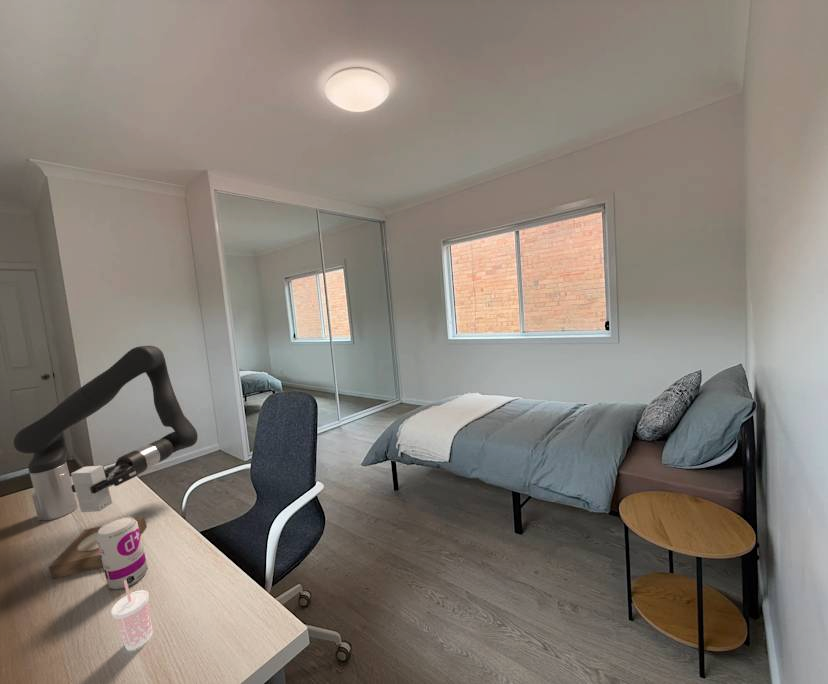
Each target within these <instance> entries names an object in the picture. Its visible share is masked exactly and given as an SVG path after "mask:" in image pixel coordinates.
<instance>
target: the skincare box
mask: <svg viewBox="0 0 828 684" xmlns="http://www.w3.org/2000/svg"><path fill="white" fill-rule="evenodd" d="M103 467H104V466H103V465H91V466H83V467H81V468H78V469H77V470H75V471H73V472H71V473H70V477H71V481H72V484H73V485H74V487H75V491H76V492H75V493H76V494H75V496H76V497H77V502H78V506H79V509H80V513H93V512H94V513H97V512H101V511H103V510H104V509H106V508H107V507H109V506H110V505H112V504H113V500H112V496H111V492H110V490H109V488H110V487H106V488H104V489H102V490H101V491H99V492H97V493H95V494H93V493H91V490H90V487H91V486H92V485H94V484H96V483H98V482H100V481H102V480H106V477H105V473H104V469H105V468H104V469H103Z"/></svg>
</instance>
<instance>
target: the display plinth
mask: <svg viewBox="0 0 828 684" xmlns="http://www.w3.org/2000/svg"><path fill="white" fill-rule="evenodd" d="M134 519H135V520H136V521H137V523H138V527H139V532H140V536H141V537H142V535H143V533H144V532H145V531H146V529H148V526H147V521H146V517H145V516H141V517H138V518H134ZM102 526H103V525H101V526H96V527H92V528H87V529H84V530H83V531H81V533H80V534H79V535H78V536H77V537H76V538H75V539H74V540H73V541H72V542H71V543H70V544H69V545H68V546H67V547H66V548H65V549H64V550H63V552H61V554H59V556H57V557H56V558H55V559H54V560H53V562H51V564H50V565H49V566H48V570H49V574H50V578H51V580H53V579H57V578H63V577H67V576H70V575H74V574H78V573H82V572H86V571H91V570H96V569H99V568H102V567H103V564H102V560H101V556H100V552H99V548H98V544H97V535H98V533H99V532H98V531H99V529H100V528H101V527H102ZM141 534H142V535H141Z"/></svg>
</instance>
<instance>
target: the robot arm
mask: <svg viewBox="0 0 828 684" xmlns="http://www.w3.org/2000/svg"><path fill="white" fill-rule="evenodd" d="M142 374H146V376H147V377H148V379H149V382H150V384H151V388H152V393H153V397H152V398H153V404H154V407H155V411H156V413H157V415H158V417H159V419H160V422H161V424H162V425H163V427H166V428H171V429H173V431H172V432H170V433H168V434H166V435H164V436H162V437H161V438H159V439H158V440H155V441H153V442H150V443H149V444H147V445H144V446H141V447H138V448H136V449H135V450H132V451H130V452H128V453H126V454H123V455H121V456H120V457H118V458H117V459H116V462H115V463H114V465H110V466H108V467H106V468H105V467H104V466H103V469H104V473H105V477H106V480H102V481H100V482H98V483H96V484H94V485H92V486H91V487H90V490H91V493H93V494H95V493H97V492H99V491H101V490H102V489H104V488H106V487H108V488H110V487H112V486H114V487H118V486H120V485H121V484H124V483H126V482H128V481H129V480H131V479H133V478H135V477H137V476H139V475H140V474H142V473H145V472H146V471H147V470H149V469H151V468H153V467H154V466H156V465H157V464H159V463H161V462H163V461H165V460H167V459H168V458H169V457H171V456H172V454H173V453H177V451H181V450H185V449H187V448H190V447H192V446H194V445H195V444H197V441H198V431H197V429H196V428H195V426H194V425H193V424H192V422H191V421H189V419H188V418H187V416H185V415H184V413H183V410H182V408H181V405H180V403H179V400H178V399H177V396H176V394H175V390H174V389H173V385H172V382H171V378H170V376H169V371H168V367H167V363H166V358H165V354H164V352H163V351H162V350H161V349H160V348H159V347H157V346H155V345H139V346H136V347H132V348H131V349H129V350H128V351H127V352H126V353H125V354H124V355H123V356H122V357H120V358H119V359H118V360H117V361H116V362H115V363H114V364H113V365H112V366H110V367H109V368H108V369H106V370H105V371H103V372H102V373H100V374H99V375H97V376H95V377H94V378H93V379H91V380H90V381H88V382H86V383H85V384H83V385H82V386H81V387H80V388H77V389H76V391H74V392H73V393H72V394H71V395H69V396H68V397H67V398H65V399H64V400H63V401H61V402H60V403H59V404H58V405H57V406H55V407H54V409H52V410H51V411H50V412H48V413H47V414H46V415H43V416H42V417H40V418H39V419H37V420H36V421H34V422H32V423H31V424H29V425H27V426H25V427H23V428H22V429H20V430H19V431H18V432H16V435H14V438H13V446H14V449H15V450H16V451H18V452H20V453H22V454H33V456H32V459H31V460H30V462H29V463H28V465H27V469H28V472H29V476H30V480H31V484H32V487H33V490H34V491H33V492H34V493H32V495H31V498H32V502H33V504H34V508H35V511H36V515H37V519H38V521H51V520H56V519H58V518H62V517H65V516H66V515H69V514H70V513H73V512H74V511H75V510H76V509H77V508H78V503H77V502H78V501H77V499H76V494H75V493H76V491H75V487H74V484H73V481H72V477H71V473H70V471H69V467H68V463H67V460H66V459H67V458H66V457H67V446H66V445H67V444H66V441H65V434H64V431H66V430H67V429H69V428H71V427H72V426H74V425H76V424H78V423H80V422H81V421H83V420H85V419H87V418H88V417H90V416H92V415H93V414H95V413H97V412H98V411H99V410H101V409H102V408H103V407H105V406H106V405H108V404H109V403H110V402H112V400H114V398H115V397H116V396H117V395H118V393H119V392H120V391H121V389H122V388H123V387H124V386H126V384H129V382H131V381H132V380H134V379H136V378H137V377H139V376H141V375H142ZM73 510H74V511H73Z"/></svg>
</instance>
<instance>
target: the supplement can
mask: <svg viewBox="0 0 828 684" xmlns="http://www.w3.org/2000/svg"><path fill="white" fill-rule="evenodd" d="M135 519H136V518H134V517H132V516H129V515H128V516H122V517H118V518H115V519H113V520H111V521H109V522H107V523H105V524H104V525H101V526H102V527H101V528H100V529H99V531H98V532H99V533H98V535H97V544H98V548H99V552H100V556H101V560H102V564H103V571H104V575H105V579H106V583H107V587H108V588H109V589H114V590H121V589H125V585H124V580H125V579H126V580H127V584H128V587H130V586H132V585H134V584H136V583H137V582H138V581H140V580H141V579H142V578H143V577H144V576H145V574H147V572H148V569H149V567H148V563H147V562H148V561H147V558H146V554H145V550H144V546H143V540H142V535H141V536H140V532H139V527H138V523H137V521H136V520H135Z"/></svg>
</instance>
